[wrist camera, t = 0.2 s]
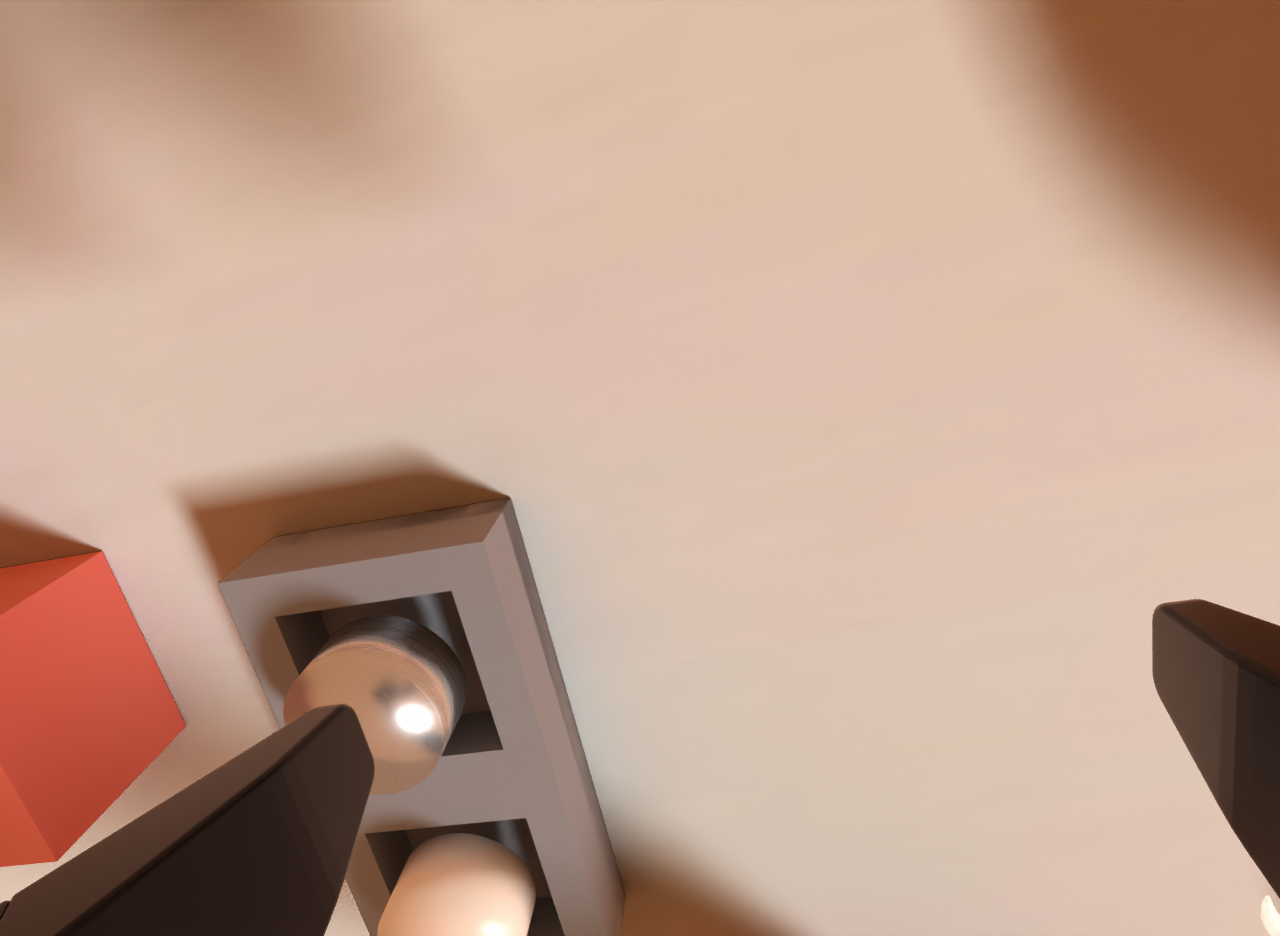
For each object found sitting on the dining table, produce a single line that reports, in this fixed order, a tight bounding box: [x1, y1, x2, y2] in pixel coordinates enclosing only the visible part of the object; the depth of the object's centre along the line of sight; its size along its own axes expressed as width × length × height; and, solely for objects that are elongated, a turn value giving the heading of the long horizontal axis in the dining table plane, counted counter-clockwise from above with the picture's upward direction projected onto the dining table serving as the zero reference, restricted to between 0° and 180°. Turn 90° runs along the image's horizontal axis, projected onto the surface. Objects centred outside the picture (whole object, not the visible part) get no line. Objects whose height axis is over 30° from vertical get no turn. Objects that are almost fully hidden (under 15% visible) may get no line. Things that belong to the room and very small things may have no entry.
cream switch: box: [377, 833, 536, 936], centre depth 25 cm, size 4×4×2 cm
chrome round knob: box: [283, 615, 467, 795], centre depth 23 cm, size 4×4×2 cm
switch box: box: [217, 498, 625, 936], centre depth 26 cm, size 16×8×3 cm, turn 12°
